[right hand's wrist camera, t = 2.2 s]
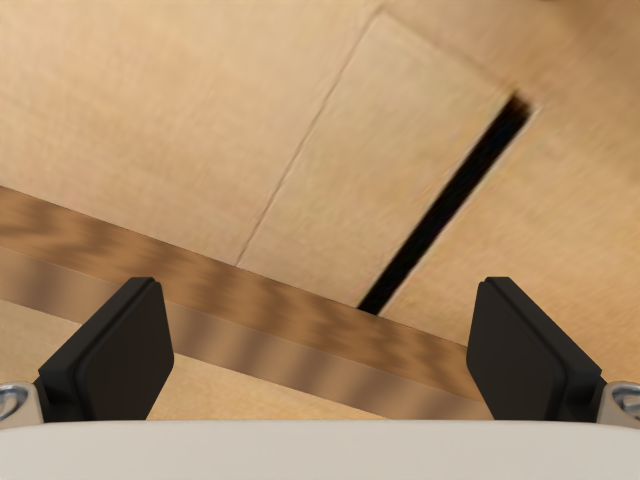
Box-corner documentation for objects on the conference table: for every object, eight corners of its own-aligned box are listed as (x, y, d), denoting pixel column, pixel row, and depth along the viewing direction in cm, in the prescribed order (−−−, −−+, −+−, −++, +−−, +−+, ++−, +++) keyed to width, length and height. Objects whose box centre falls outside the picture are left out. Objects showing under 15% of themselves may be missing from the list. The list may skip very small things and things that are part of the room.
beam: (620, 400, 44) (688, 470, 36) (596, 427, 46) (655, 500, 38) (-48, 168, 34) (-162, 194, 26) (-49, 214, 36) (-157, 251, 28)
